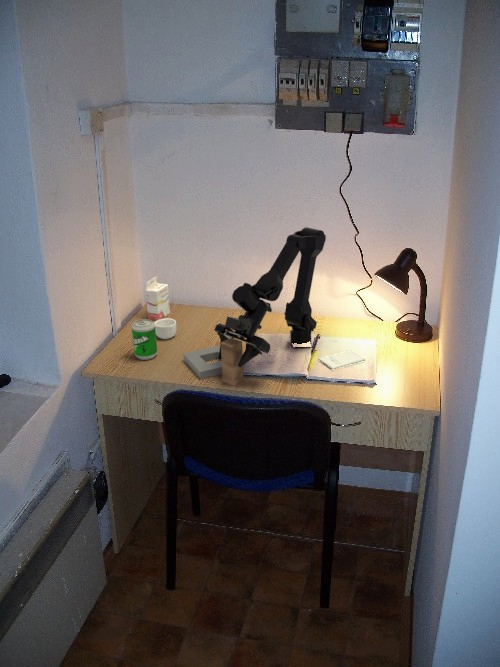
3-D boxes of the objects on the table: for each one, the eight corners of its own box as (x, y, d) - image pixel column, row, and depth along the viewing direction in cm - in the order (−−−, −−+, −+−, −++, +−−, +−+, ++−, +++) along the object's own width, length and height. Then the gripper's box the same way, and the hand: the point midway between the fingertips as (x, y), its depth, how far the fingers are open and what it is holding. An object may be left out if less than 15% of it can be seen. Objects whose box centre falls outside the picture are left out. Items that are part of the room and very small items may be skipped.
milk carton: (159, 321, 243) (156, 283, 237) (147, 319, 245) (144, 282, 239) (170, 313, 250) (167, 276, 244) (159, 311, 252) (156, 275, 246)
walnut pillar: (232, 376, 203) (231, 337, 197) (243, 380, 200) (242, 341, 194) (222, 381, 199) (220, 342, 194) (233, 385, 197) (231, 346, 191)
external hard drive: (364, 363, 210) (332, 372, 205) (349, 353, 216) (318, 362, 211) (365, 358, 209) (332, 367, 204) (350, 349, 216) (318, 357, 211)
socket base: (224, 351, 219) (224, 344, 218) (243, 368, 207) (243, 361, 206) (183, 360, 213) (183, 353, 212) (200, 379, 201) (200, 371, 200)
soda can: (148, 349, 221) (145, 316, 217) (162, 355, 217) (159, 322, 212) (130, 356, 217) (126, 322, 212) (143, 363, 212) (140, 329, 207)
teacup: (172, 342, 226) (171, 327, 224) (151, 340, 228) (150, 326, 226) (182, 330, 235) (181, 316, 233) (162, 329, 237) (161, 315, 235)
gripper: (216, 298, 198) (192, 343, 196) (263, 313, 187) (238, 361, 184) (235, 314, 207) (212, 358, 204) (281, 329, 196) (257, 376, 193)
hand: (229, 363), depth 196 cm, fingers open, 8 cm apart
